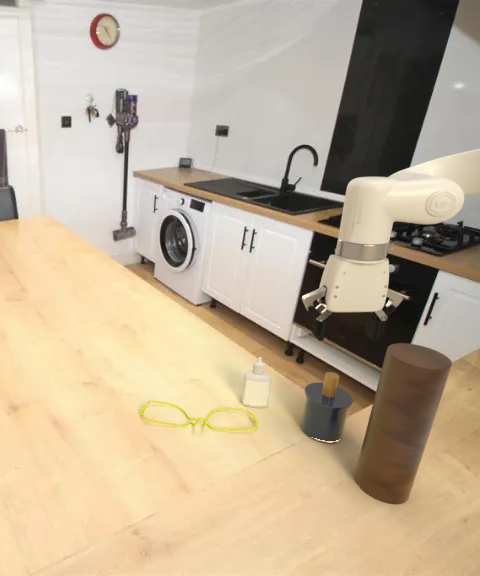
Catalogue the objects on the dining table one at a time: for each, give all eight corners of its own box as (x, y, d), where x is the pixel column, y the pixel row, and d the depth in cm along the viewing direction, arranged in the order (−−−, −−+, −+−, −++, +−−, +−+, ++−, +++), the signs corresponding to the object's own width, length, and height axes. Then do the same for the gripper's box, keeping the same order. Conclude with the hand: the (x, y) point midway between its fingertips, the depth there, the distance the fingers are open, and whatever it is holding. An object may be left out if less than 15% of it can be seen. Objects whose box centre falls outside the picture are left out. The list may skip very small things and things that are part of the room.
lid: (339, 384, 86) (343, 363, 84) (362, 410, 78) (367, 388, 76) (297, 384, 87) (301, 363, 85) (315, 409, 78) (320, 387, 77)
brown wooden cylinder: (390, 468, 75) (427, 343, 66) (420, 505, 68) (466, 369, 59) (345, 467, 76) (376, 342, 67) (370, 503, 68) (408, 369, 59)
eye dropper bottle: (263, 413, 91) (269, 366, 87) (238, 403, 94) (243, 357, 90) (269, 403, 94) (276, 357, 90) (245, 394, 98) (251, 350, 93)
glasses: (254, 412, 91) (256, 394, 89) (263, 443, 82) (266, 424, 80) (141, 403, 95) (142, 385, 94) (138, 431, 86) (139, 412, 84)
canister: (331, 419, 89) (338, 385, 86) (350, 444, 81) (358, 408, 78) (294, 418, 89) (300, 385, 86) (309, 443, 82) (317, 408, 79)
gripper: (398, 243, 74) (379, 328, 80) (301, 245, 76) (289, 329, 82) (427, 254, 67) (404, 346, 73) (319, 257, 69) (305, 347, 75)
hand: (344, 337), depth 77 cm, fingers open, 9 cm apart
